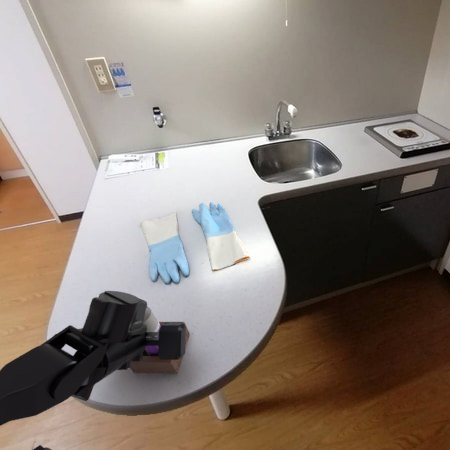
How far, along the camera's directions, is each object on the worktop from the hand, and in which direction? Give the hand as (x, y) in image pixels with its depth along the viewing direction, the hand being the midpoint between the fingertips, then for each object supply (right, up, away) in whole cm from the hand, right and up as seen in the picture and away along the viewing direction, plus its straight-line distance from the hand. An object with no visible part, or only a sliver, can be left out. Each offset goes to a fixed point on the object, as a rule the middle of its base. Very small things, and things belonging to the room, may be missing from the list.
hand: (155, 329), depth 65 cm
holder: (0, -6, +4) cm, 7 cm away
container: (0, -7, +4) cm, 8 cm away
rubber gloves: (-3, +17, +32) cm, 36 cm away
